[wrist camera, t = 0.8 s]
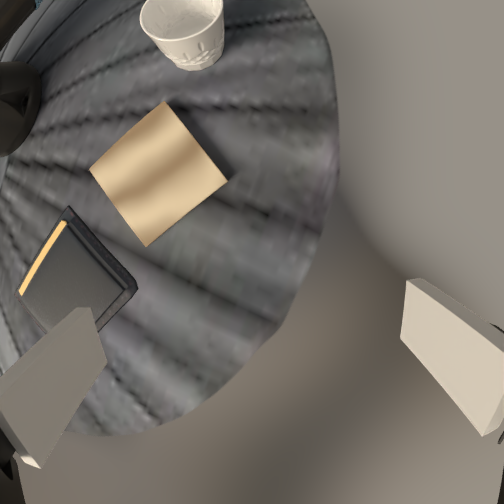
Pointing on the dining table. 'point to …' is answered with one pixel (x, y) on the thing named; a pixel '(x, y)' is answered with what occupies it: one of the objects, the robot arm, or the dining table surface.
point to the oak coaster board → (157, 174)
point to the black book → (74, 277)
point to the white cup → (186, 30)
